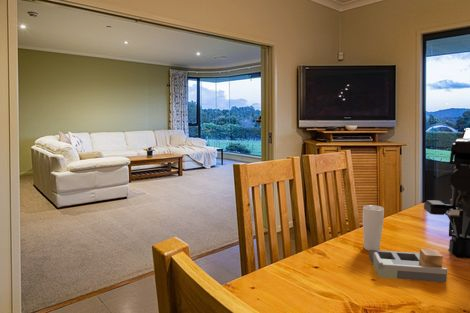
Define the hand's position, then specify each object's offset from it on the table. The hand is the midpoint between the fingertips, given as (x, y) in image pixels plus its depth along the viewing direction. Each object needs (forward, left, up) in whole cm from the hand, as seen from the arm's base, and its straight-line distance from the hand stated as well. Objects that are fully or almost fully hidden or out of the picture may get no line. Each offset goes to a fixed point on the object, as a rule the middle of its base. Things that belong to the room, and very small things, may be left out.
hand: (460, 237), depth 96 cm
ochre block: (+7, 0, -10) cm, 12 cm away
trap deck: (+13, -3, -12) cm, 18 cm away
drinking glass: (+20, -17, -12) cm, 29 cm away
